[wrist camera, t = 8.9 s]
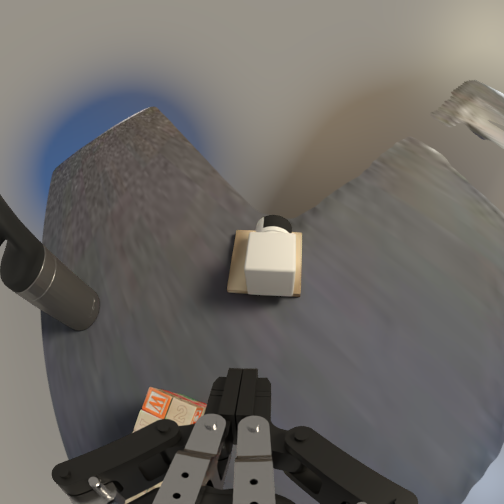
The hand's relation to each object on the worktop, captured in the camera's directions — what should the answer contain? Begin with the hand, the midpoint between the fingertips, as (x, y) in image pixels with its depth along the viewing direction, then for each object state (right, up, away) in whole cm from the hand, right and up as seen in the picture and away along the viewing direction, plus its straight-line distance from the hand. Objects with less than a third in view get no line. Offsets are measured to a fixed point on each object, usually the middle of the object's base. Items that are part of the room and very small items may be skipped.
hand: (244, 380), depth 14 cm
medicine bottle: (+3, +2, +27) cm, 27 cm away
